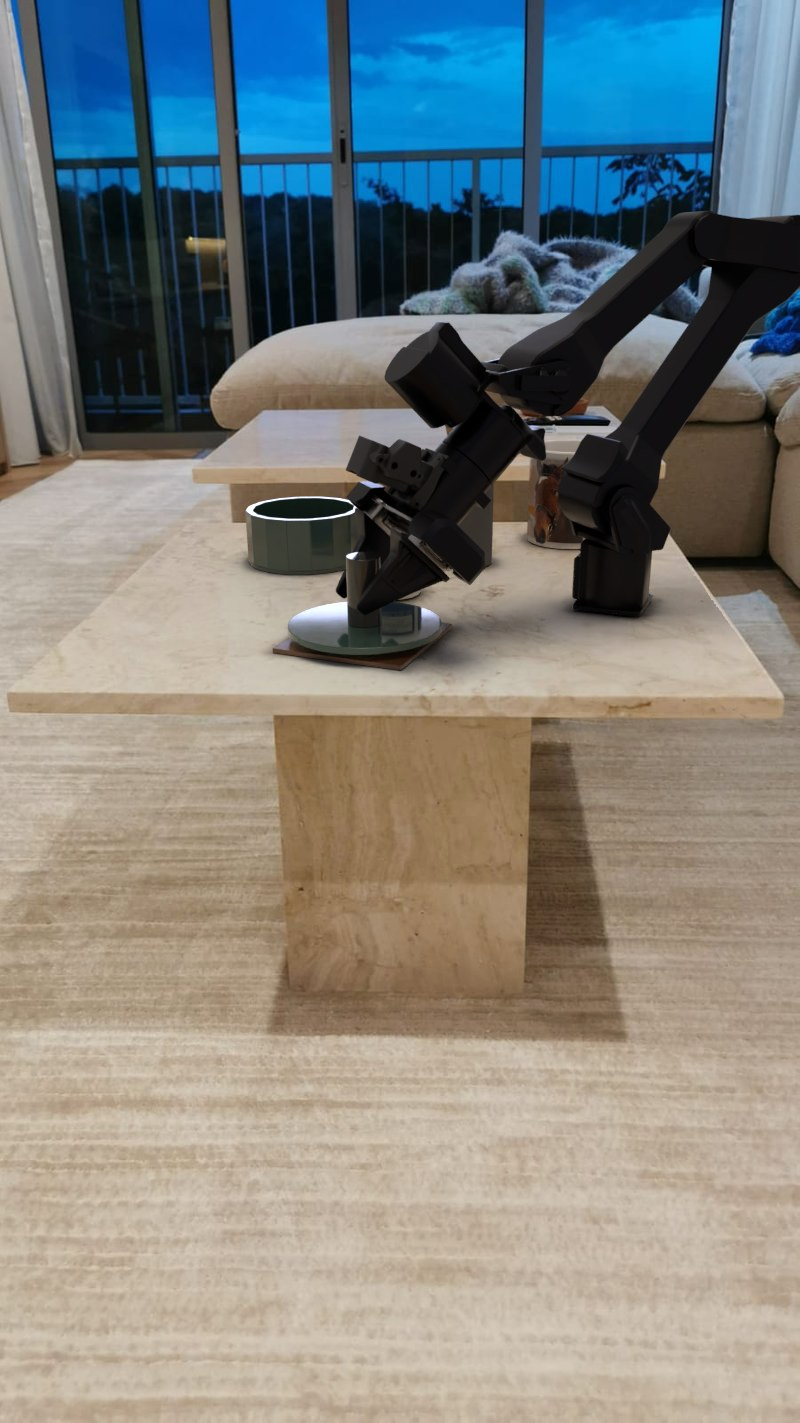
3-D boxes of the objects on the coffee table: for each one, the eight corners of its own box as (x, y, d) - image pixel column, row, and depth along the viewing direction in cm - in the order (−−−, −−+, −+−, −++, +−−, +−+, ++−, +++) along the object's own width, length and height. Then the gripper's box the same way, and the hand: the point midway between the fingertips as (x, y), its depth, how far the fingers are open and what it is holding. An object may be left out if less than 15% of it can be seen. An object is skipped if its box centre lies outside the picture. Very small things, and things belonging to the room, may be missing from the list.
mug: (593, 527, 134) (599, 437, 130) (637, 550, 123) (645, 452, 119) (514, 533, 132) (517, 441, 127) (552, 557, 121) (557, 457, 117)
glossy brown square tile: (452, 627, 98) (452, 623, 98) (401, 670, 88) (401, 666, 87) (334, 613, 102) (334, 609, 102) (272, 652, 92) (272, 648, 92)
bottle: (493, 569, 116) (496, 427, 111) (439, 569, 117) (440, 428, 111) (490, 555, 122) (493, 420, 116) (438, 556, 122) (439, 420, 116)
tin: (379, 551, 124) (378, 501, 122) (331, 579, 113) (329, 524, 111) (283, 542, 129) (281, 493, 126) (228, 568, 118) (224, 515, 116)
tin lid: (393, 604, 103) (392, 530, 101) (472, 643, 92) (473, 562, 90) (263, 628, 97) (258, 550, 94) (330, 672, 86) (327, 586, 83)
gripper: (365, 389, 96) (253, 522, 97) (451, 413, 80) (317, 572, 81) (444, 471, 102) (338, 596, 103) (539, 508, 86) (413, 656, 87)
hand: (349, 603), depth 93 cm, fingers open, 5 cm apart
